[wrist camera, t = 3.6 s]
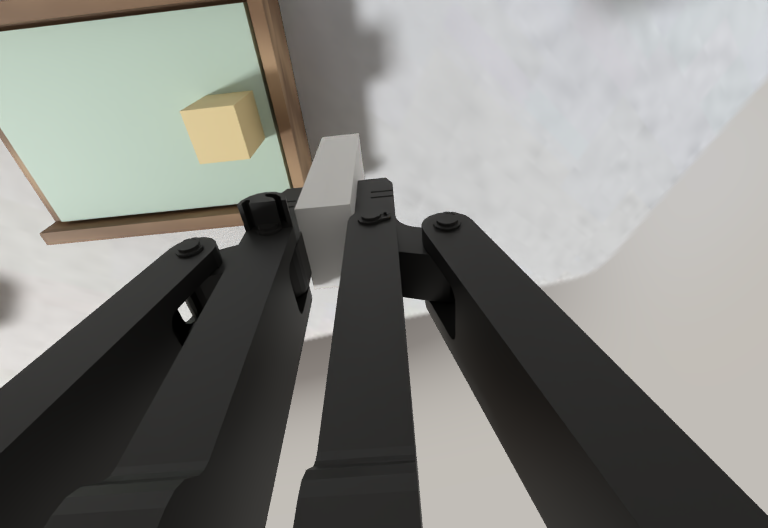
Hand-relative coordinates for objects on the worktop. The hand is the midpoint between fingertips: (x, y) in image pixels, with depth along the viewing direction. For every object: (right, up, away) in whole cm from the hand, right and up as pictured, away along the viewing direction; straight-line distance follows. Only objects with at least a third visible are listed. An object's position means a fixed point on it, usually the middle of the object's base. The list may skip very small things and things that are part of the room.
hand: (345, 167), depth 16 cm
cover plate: (-14, +5, +10) cm, 18 cm away
